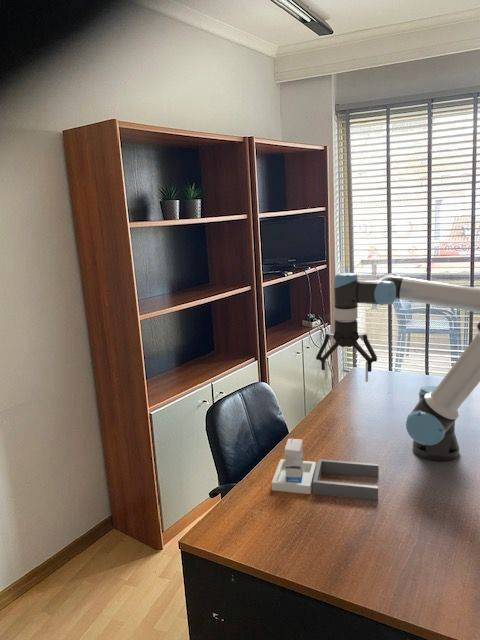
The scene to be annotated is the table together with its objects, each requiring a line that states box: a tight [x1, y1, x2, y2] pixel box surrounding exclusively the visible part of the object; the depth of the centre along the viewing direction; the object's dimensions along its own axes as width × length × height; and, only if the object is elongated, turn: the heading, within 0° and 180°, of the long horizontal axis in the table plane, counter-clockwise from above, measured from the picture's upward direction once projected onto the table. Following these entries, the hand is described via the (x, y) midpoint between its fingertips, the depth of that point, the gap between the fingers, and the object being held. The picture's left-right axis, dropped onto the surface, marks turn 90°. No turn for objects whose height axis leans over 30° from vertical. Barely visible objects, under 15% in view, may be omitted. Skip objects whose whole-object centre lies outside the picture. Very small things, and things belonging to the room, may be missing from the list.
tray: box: [271, 458, 317, 495], centre depth 164 cm, size 12×15×3 cm
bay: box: [312, 458, 380, 501], centre depth 160 cm, size 19×14×4 cm
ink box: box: [284, 438, 304, 483], centre depth 163 cm, size 9×5×12 cm, turn 167°
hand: (346, 379), depth 175 cm, fingers open, 13 cm apart
